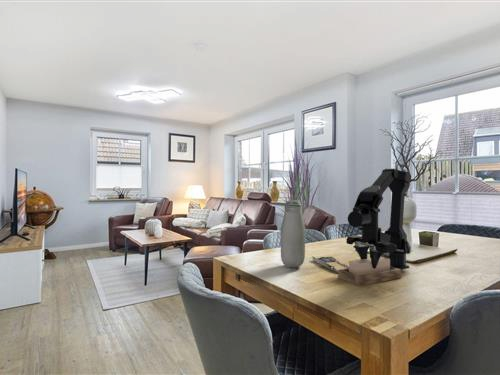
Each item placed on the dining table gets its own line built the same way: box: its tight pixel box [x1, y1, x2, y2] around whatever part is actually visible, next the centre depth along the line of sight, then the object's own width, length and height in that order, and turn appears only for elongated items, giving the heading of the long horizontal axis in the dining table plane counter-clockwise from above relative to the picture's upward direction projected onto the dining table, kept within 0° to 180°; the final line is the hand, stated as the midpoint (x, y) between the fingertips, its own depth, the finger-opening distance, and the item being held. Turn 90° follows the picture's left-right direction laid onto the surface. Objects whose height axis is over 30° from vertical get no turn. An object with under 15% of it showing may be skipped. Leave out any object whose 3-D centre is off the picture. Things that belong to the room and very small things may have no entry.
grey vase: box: [280, 199, 306, 269], centre depth 123 cm, size 10×10×28 cm
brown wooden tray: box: [337, 266, 402, 287], centre depth 109 cm, size 21×10×3 cm, turn 114°
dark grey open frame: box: [311, 256, 349, 274], centre depth 125 cm, size 22×3×10 cm
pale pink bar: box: [348, 256, 390, 275], centre depth 109 cm, size 16×4×4 cm, turn 113°
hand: (369, 266), depth 109 cm, fingers closed on pale pink bar, 4 cm apart
